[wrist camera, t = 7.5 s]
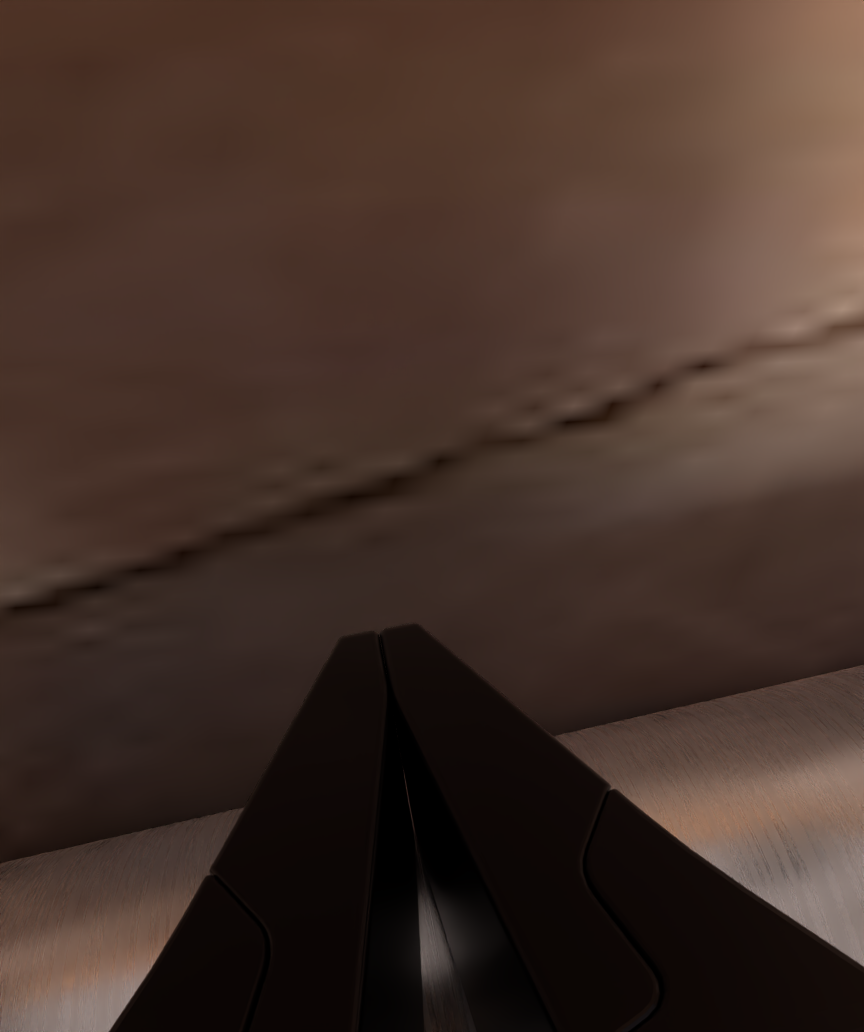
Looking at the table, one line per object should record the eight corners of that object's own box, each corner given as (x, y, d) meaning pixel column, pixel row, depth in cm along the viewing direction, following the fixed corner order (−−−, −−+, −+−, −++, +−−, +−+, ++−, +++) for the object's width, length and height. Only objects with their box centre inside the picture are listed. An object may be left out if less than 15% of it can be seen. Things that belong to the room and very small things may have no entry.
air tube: (1514, 672, 7) (1467, 1079, 8) (1065, 555, 12) (1067, 826, 12) (-1322, 1381, 5) (-955, 1800, 6) (-569, 917, 10) (-422, 1206, 11)
